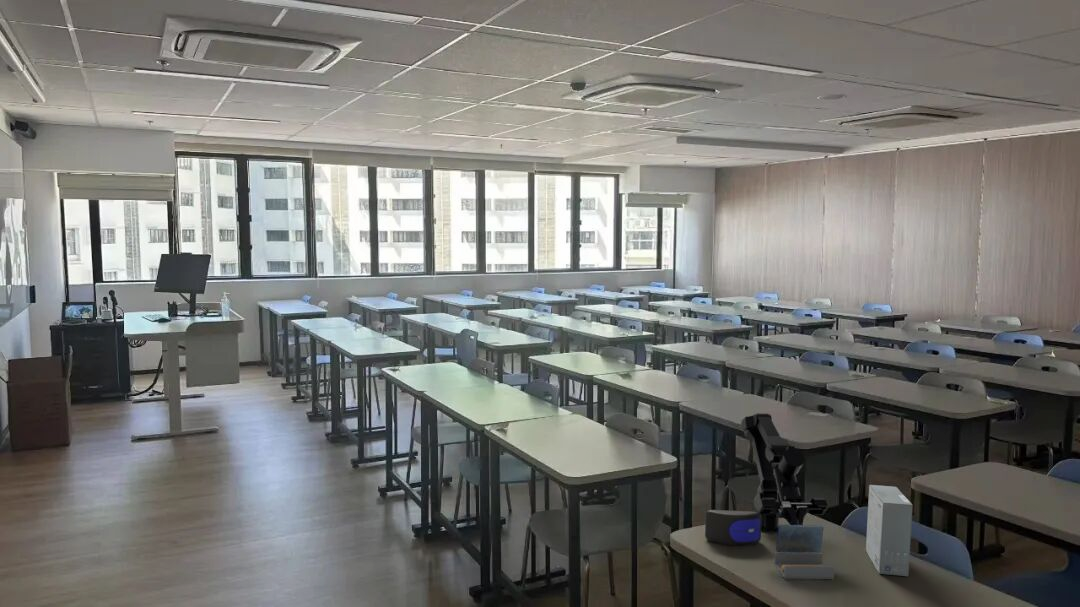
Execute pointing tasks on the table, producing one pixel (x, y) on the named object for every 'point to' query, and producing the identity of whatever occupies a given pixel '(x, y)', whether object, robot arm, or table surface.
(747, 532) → the grey blue curved block
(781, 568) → the cable duct
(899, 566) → the hard drive box
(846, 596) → the table surface
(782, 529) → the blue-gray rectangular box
